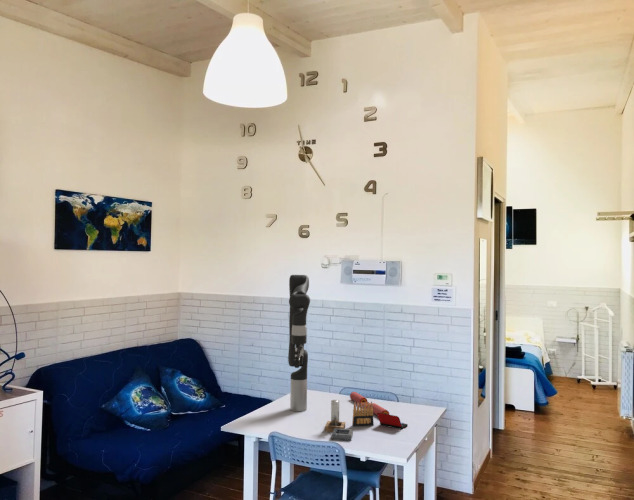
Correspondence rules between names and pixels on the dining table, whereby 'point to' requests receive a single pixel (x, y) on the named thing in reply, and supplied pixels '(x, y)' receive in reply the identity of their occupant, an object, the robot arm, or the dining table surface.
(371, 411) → the ammunition clip
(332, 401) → the steel axle
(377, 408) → the blood vessel
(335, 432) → the steel bore block
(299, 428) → the dining table surface
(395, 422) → the handheld game console
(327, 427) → the walnut socket block
